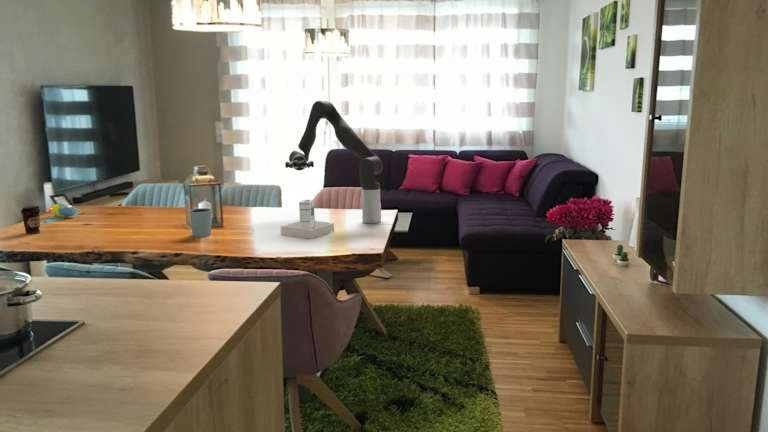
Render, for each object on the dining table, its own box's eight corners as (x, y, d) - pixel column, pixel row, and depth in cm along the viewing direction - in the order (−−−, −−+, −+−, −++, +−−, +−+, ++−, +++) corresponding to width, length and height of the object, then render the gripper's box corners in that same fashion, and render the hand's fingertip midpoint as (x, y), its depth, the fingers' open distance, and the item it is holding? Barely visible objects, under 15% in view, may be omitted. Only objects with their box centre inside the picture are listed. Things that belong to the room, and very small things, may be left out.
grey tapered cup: (193, 237, 301) (191, 212, 298) (188, 233, 310) (187, 209, 307) (215, 235, 305) (213, 210, 303) (210, 231, 314) (208, 207, 312)
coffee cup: (47, 231, 318) (44, 205, 315) (33, 235, 310) (30, 208, 308) (33, 230, 321) (30, 204, 318) (19, 234, 313) (16, 207, 310)
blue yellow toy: (65, 198, 366) (90, 199, 364) (67, 212, 368) (91, 214, 365) (31, 206, 339) (56, 208, 337) (32, 223, 341) (58, 224, 338)
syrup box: (311, 232, 306) (310, 201, 303) (299, 231, 307) (298, 201, 304) (315, 229, 311) (314, 199, 308) (303, 229, 312) (302, 199, 309)
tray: (305, 227, 321) (304, 219, 320) (334, 231, 312) (334, 222, 311) (281, 234, 306) (280, 226, 305) (311, 238, 297) (310, 230, 296)
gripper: (285, 155, 335) (285, 158, 319) (312, 154, 337) (313, 158, 321) (285, 169, 336) (285, 173, 320) (313, 169, 338) (314, 173, 322)
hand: (299, 166), depth 321 cm, fingers open, 8 cm apart
